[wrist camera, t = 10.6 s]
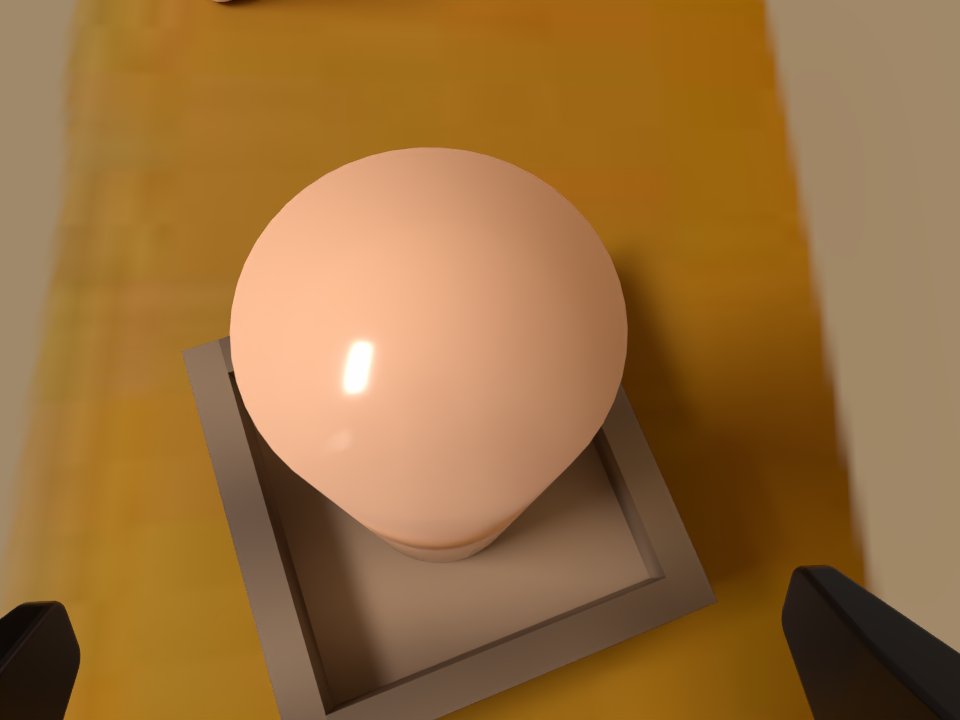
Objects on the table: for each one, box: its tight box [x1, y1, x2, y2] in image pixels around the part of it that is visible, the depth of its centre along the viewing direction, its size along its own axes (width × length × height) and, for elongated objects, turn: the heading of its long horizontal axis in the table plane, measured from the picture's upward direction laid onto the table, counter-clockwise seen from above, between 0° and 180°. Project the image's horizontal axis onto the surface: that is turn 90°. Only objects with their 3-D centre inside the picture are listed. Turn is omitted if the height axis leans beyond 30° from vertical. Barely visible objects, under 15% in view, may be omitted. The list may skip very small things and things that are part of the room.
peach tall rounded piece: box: [230, 148, 628, 563], centre depth 14 cm, size 4×4×13 cm
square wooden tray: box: [182, 336, 718, 720], centre depth 20 cm, size 11×11×3 cm
